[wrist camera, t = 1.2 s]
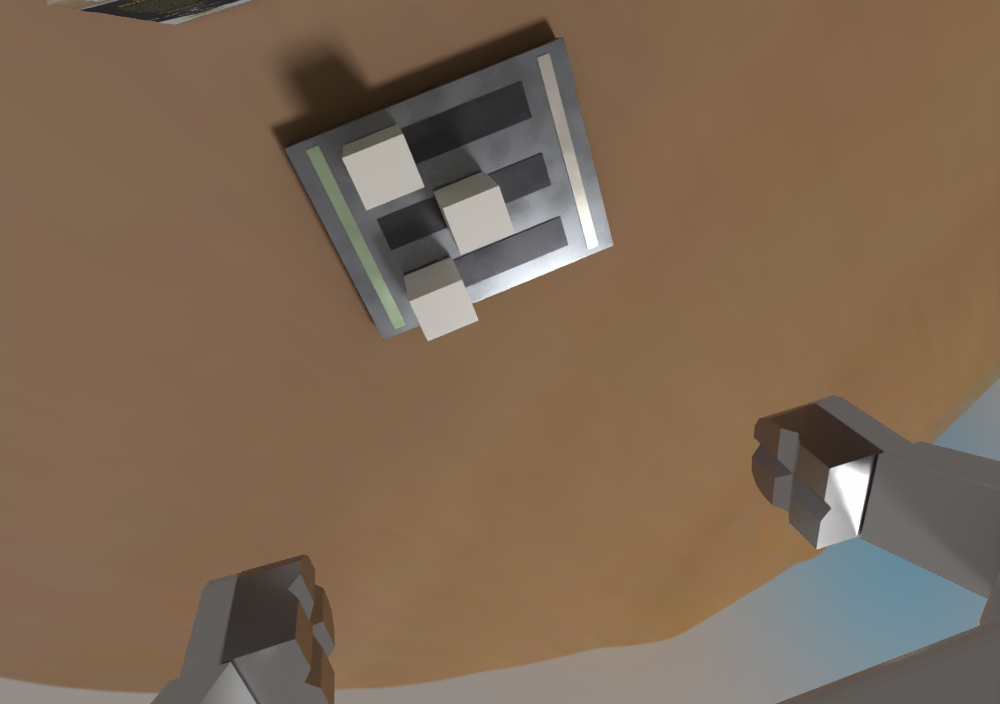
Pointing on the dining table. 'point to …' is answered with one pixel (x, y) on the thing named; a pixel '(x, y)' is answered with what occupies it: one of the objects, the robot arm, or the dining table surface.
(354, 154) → the block
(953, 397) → the dining table surface
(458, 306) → the breaker
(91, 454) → the dining table surface
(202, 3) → the tea box
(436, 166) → the panel
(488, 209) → the block
